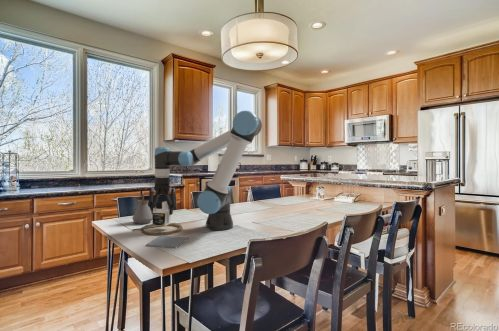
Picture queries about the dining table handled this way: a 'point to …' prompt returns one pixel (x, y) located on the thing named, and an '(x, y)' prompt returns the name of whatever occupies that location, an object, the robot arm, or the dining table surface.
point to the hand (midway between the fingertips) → (162, 220)
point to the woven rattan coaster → (161, 232)
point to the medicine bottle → (161, 214)
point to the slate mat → (167, 241)
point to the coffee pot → (143, 212)
